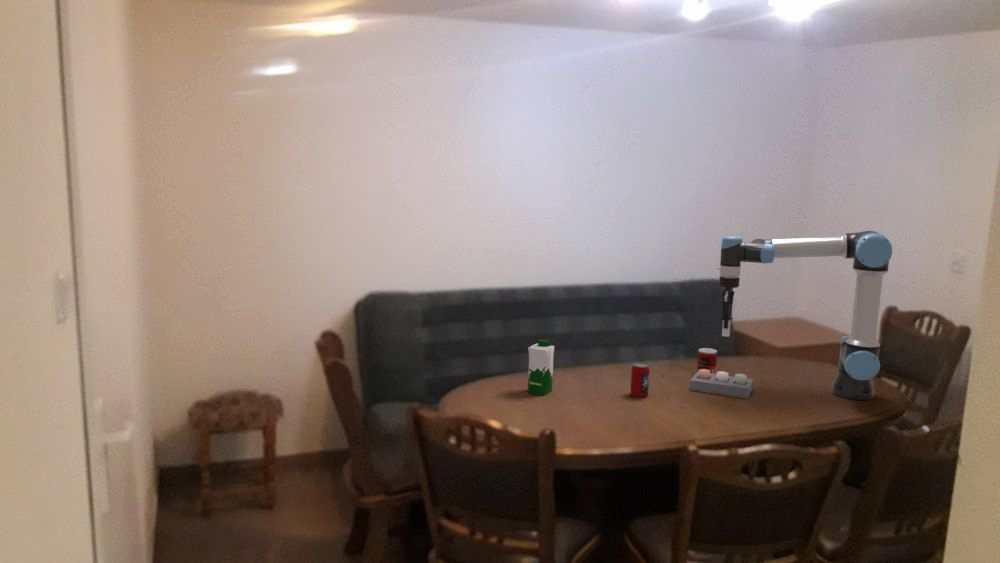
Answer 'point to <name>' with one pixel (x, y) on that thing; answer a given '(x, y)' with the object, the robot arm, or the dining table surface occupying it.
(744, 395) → the console
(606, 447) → the dining table surface
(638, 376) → the beverage can
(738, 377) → the button sage
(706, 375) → the button terracotta
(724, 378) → the button cream
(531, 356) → the milk carton
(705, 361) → the canned food
